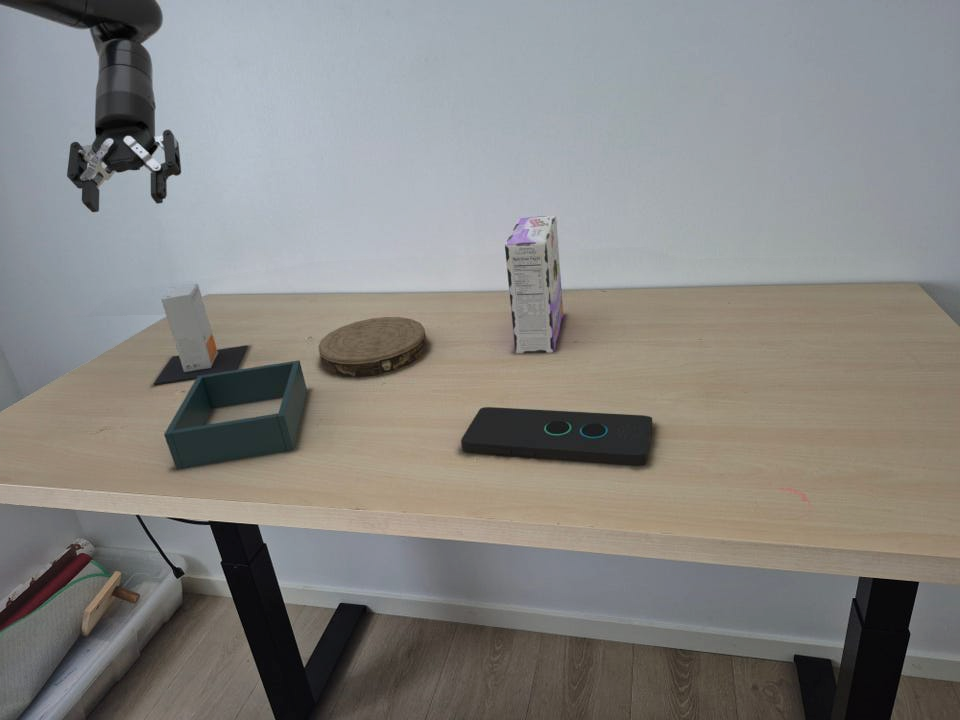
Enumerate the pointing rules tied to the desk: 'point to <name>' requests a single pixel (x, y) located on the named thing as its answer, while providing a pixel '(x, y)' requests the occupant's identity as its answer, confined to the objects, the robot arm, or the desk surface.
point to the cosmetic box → (190, 327)
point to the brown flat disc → (373, 347)
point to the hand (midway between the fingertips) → (124, 204)
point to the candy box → (534, 284)
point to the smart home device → (560, 435)
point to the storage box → (243, 436)
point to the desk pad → (222, 363)
